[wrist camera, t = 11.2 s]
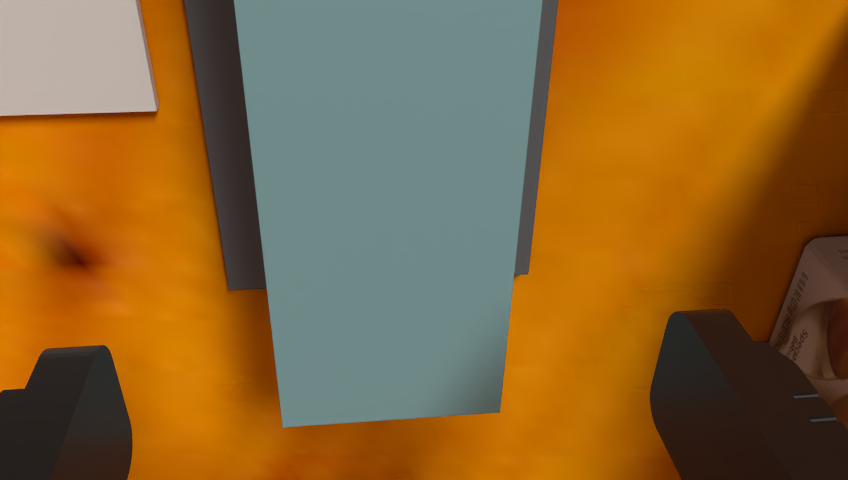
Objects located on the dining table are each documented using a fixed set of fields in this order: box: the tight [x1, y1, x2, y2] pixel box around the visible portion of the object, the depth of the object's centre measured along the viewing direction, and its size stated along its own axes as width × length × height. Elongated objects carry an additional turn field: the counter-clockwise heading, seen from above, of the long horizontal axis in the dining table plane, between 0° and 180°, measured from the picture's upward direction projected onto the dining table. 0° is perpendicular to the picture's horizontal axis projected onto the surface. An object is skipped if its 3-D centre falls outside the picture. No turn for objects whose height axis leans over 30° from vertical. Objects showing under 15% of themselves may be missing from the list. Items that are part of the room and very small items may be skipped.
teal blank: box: [234, 0, 542, 427], centre depth 15 cm, size 14×5×4 cm, turn 179°
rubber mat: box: [184, 0, 558, 290], centre depth 17 cm, size 12×8×1 cm, turn 179°
